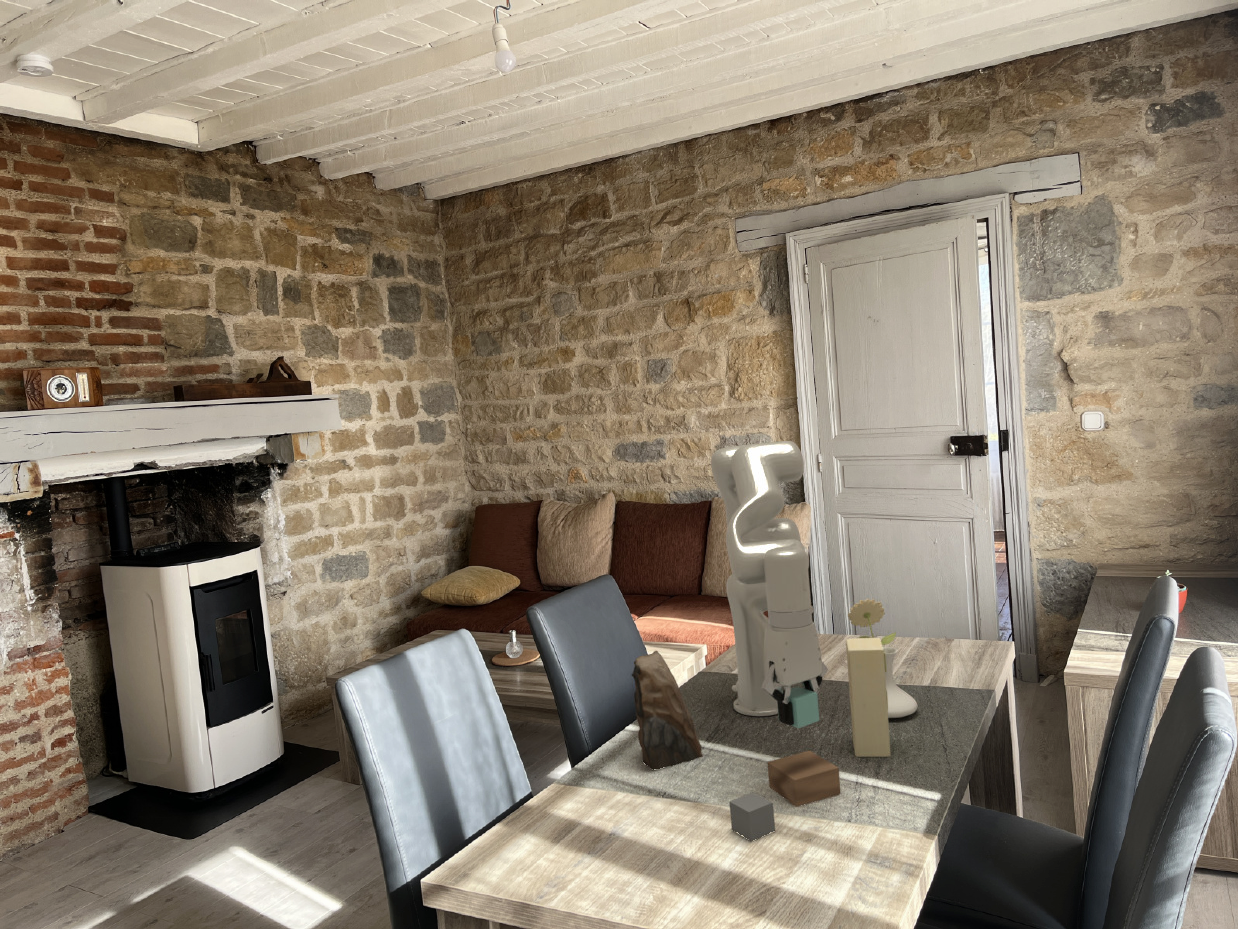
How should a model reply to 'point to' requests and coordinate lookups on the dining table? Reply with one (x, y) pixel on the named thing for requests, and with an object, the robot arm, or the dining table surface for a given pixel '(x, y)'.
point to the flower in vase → (867, 616)
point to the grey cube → (752, 816)
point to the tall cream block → (868, 697)
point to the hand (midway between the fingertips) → (798, 718)
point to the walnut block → (803, 778)
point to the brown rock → (662, 715)
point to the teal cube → (803, 707)
